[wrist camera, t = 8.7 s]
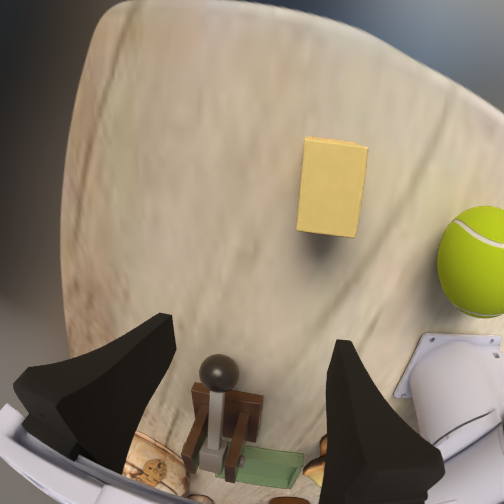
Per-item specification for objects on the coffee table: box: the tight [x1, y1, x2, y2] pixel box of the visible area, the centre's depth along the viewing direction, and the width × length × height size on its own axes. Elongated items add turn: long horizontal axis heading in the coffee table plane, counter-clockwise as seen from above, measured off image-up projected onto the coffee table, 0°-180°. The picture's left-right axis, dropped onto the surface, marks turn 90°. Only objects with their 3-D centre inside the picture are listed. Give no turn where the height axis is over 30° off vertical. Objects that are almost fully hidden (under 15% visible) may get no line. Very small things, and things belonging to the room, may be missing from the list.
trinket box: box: [122, 431, 190, 496], centre depth 35 cm, size 13×15×8 cm
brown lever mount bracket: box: [181, 382, 263, 483], centre depth 26 cm, size 8×7×8 cm
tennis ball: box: [437, 206, 504, 318], centre depth 14 cm, size 7×7×7 cm
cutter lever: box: [199, 354, 239, 474], centre depth 23 cm, size 13×3×3 cm, turn 177°
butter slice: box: [296, 136, 368, 238], centre depth 16 cm, size 3×4×5 cm, turn 177°
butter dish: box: [215, 442, 304, 489], centre depth 33 cm, size 11×9×2 cm
